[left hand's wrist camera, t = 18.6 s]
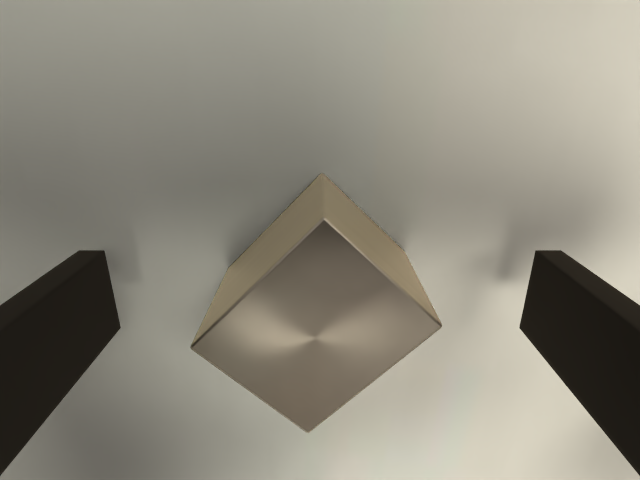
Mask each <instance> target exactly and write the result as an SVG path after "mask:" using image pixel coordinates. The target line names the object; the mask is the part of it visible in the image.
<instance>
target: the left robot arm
mask: <svg viewBox="0 0 640 480" xmlns="http://www.w3.org/2000/svg"><path fill="white" fill-rule="evenodd" d="M119 329H120V323H119V318H118V313H117V309H116V304H115V299H114V294H113V290H112V285H111V280H110V275H109V270H108V266H107V261H106V256H105V251H78V252H76V253H75V254H73V255H72V256H71V257H69V258H68V259H66V260H65V261H63V262H62V263H60V264H59V265H58V266H56V267H55V268H53V269H52V270H50V271H49V272H48V273H46V274H45V275H43V276H42V277H40V278H39V279H38V280H36V281H35V282H33V283H32V284H30V285H29V286H27V287H26V288H25V289H23V290H22V291H20V292H19V293H17V294H16V295H15V296H13V297H12V298H10V299H9V300H7V301H6V302H5V303H3V304H2V305H0V475H1V474H2V473H3V472H4V470H5V469H6V468H7V467H8V465H9V464H10V463H11V462H12V461H13V459H14V458H15V457H16V456H17V454H18V453H19V452H20V451H21V450H22V448H23V447H24V446H25V445H26V443H27V442H28V441H29V440H30V438H31V437H32V436H33V435H34V434H35V432H36V431H37V430H38V429H39V427H40V426H41V425H42V424H43V422H44V421H45V420H46V419H47V418H48V416H49V415H50V414H51V413H52V411H53V410H54V409H55V408H56V406H57V405H58V404H59V403H60V402H61V400H62V399H63V398H64V397H65V395H66V394H67V393H68V392H69V391H70V389H71V388H72V387H73V386H74V384H75V383H76V382H77V381H78V379H79V378H80V377H81V376H82V375H83V373H84V372H85V371H86V370H87V368H88V367H89V366H90V365H91V363H92V362H93V361H94V360H95V359H96V357H97V356H98V355H99V354H100V352H101V351H102V350H103V349H104V348H105V346H106V345H107V344H108V343H109V341H110V340H111V339H112V338H113V336H114V335H115V334H116V333H117V332H118V330H119ZM520 329H521V330H522V332H523V333H524V334H525V335H526V336H527V338H528V339H529V340H530V341H531V343H532V344H533V345H534V346H535V348H536V349H537V350H538V351H539V352H540V354H541V355H542V356H543V357H544V359H545V360H546V361H547V362H548V363H549V365H550V366H551V367H552V368H553V370H554V371H555V372H556V373H557V375H558V376H559V377H560V378H561V379H562V381H563V382H564V383H565V384H566V386H567V387H568V388H569V389H570V391H571V392H572V393H573V394H574V395H575V397H576V398H577V399H578V400H579V402H580V403H581V404H582V405H583V407H584V408H585V409H586V410H587V411H588V413H589V414H590V415H591V416H592V418H593V419H594V420H595V421H596V422H597V424H598V425H599V426H600V427H601V429H602V430H603V431H604V432H605V434H606V435H607V436H608V437H609V438H610V440H611V441H612V442H613V443H614V445H615V446H616V447H617V448H618V450H619V451H620V452H621V453H622V454H623V456H624V457H625V458H626V459H627V461H628V462H629V463H630V464H631V465H632V467H633V468H634V469H635V470H636V472H637V473H638V474H639V475H640V305H638V304H637V303H635V302H634V301H633V300H631V299H630V298H628V297H627V296H625V295H624V294H623V293H621V292H620V291H618V290H617V289H615V288H614V287H613V286H611V285H610V284H608V283H607V282H605V281H604V280H602V279H601V278H600V277H598V276H597V275H595V274H594V273H592V272H591V271H590V270H588V269H587V268H585V267H584V266H582V265H581V264H579V263H578V262H577V261H575V260H574V259H572V258H571V257H569V256H568V255H567V254H565V253H564V252H562V251H535V256H534V261H533V266H532V270H531V275H530V280H529V285H528V289H527V294H526V299H525V304H524V309H523V313H522V318H521V323H520Z"/></svg>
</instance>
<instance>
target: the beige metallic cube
mask: <svg viewBox="0 0 640 480" xmlns="http://www.w3.org/2000/svg"><path fill="white" fill-rule="evenodd" d="M441 327H442V324H441V322H440V320H439V318H438V316H437V314H436V312H435V310H434V308H433V306H432V304H431V302H430V300H429V298H428V296H427V294H426V293H425V291H424V289H423V287H422V285H421V283H420V281H419V279H418V277H417V275H416V273H415V271H414V269H413V267H412V265H411V263H410V261H409V259H408V257H407V255H406V253H405V252H404V251H403V250H402V249H401V248H400V247H399V246H398V245H397V244H396V243H395V242H394V241H393V240H392V239H391V238H390V237H389V236H388V235H387V234H386V233H385V232H384V231H383V230H381V229H380V228H379V227H378V226H377V225H376V224H375V223H374V222H373V221H372V220H371V219H370V218H369V217H368V216H367V215H366V214H365V213H364V212H363V211H362V210H361V209H360V208H359V207H358V206H357V205H356V204H355V203H353V202H352V201H351V200H350V199H349V198H348V197H347V196H346V195H345V194H344V193H343V192H342V191H341V190H340V189H339V188H338V187H337V186H336V185H335V184H334V183H333V182H332V181H331V180H330V179H329V178H328V177H326V176H325V175H324V174H323V173H322V174H320V175H319V176H318V177H317V178H316V179H315V180H314V181H313V182H312V183H311V184H310V185H309V186H308V187H307V188H306V189H305V190H304V191H303V192H302V193H301V194H300V195H299V197H298V198H297V199H296V200H295V201H294V202H293V203H292V204H291V205H290V206H289V207H288V208H287V209H286V210H285V211H284V212H283V213H282V214H281V215H280V216H279V217H278V218H277V219H276V220H275V221H274V222H273V223H272V224H271V225H270V226H269V227H268V228H267V229H266V230H265V231H264V232H263V233H262V234H261V235H260V236H259V237H258V238H257V239H256V240H255V241H254V243H253V244H252V245H251V246H250V247H249V248H248V249H247V250H246V251H245V252H244V253H243V254H242V255H241V256H240V257H239V258H238V259H237V260H236V261H235V262H234V263H233V264H232V265H231V266H230V267H229V268H228V270H227V272H226V274H225V276H224V278H223V280H222V282H221V284H220V287H219V289H218V291H217V293H216V295H215V297H214V299H213V301H212V303H211V305H210V307H209V309H208V311H207V313H206V315H205V318H204V320H203V322H202V324H201V326H200V328H199V330H198V332H197V334H196V336H195V338H194V340H193V342H192V344H191V349H192V350H193V351H195V352H196V353H197V354H199V355H200V356H201V357H203V358H204V359H206V360H207V361H208V362H210V363H211V364H213V365H214V366H215V367H217V368H218V369H219V370H221V371H222V372H224V373H225V374H226V375H228V376H229V377H230V378H232V379H233V380H235V381H236V382H237V383H239V384H240V385H242V386H243V387H244V388H246V389H247V390H248V391H250V392H251V393H253V394H254V395H255V396H257V397H258V398H259V399H261V400H262V401H264V402H265V403H266V404H268V405H269V406H271V407H272V408H273V409H275V410H276V411H277V412H279V413H280V414H282V415H283V416H284V417H286V418H287V419H288V420H290V421H291V422H293V423H294V424H295V425H297V426H298V427H300V428H301V429H302V430H304V431H305V432H307V433H309V432H310V431H312V430H313V429H314V428H315V427H317V426H318V425H319V424H320V423H322V422H323V421H324V420H325V419H327V418H328V417H329V416H331V415H332V414H333V413H334V412H336V411H337V410H338V409H339V408H341V407H342V406H343V405H344V404H346V403H347V402H348V401H349V400H351V399H352V398H353V397H354V396H356V395H357V394H358V393H360V392H361V391H362V390H363V389H365V388H366V387H367V386H368V385H370V384H371V383H372V382H373V381H375V380H376V379H377V378H378V377H380V376H381V375H382V374H383V373H385V372H386V371H387V370H388V369H390V368H391V367H392V366H394V365H395V364H396V363H397V362H399V361H400V360H401V359H402V358H404V357H405V356H406V355H407V354H409V353H410V352H411V351H412V350H414V349H415V348H416V347H417V346H419V345H420V344H421V343H423V342H424V341H425V340H426V339H428V338H429V337H430V336H431V335H433V334H434V333H435V332H436V331H438V330H439V329H440V328H441Z"/></svg>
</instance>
